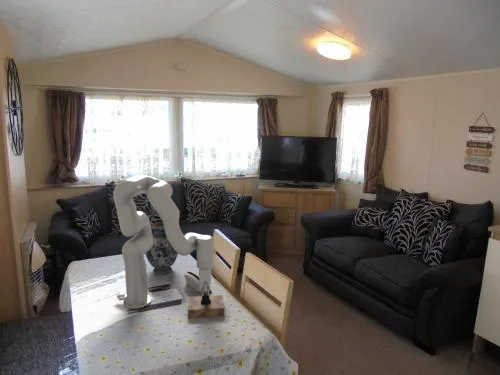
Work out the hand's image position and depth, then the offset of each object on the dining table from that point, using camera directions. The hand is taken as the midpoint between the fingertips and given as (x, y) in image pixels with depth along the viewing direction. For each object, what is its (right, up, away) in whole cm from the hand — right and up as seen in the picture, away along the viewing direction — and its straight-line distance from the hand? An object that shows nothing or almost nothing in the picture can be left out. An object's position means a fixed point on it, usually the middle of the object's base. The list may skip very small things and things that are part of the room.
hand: (205, 298), depth 174 cm
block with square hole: (0, -6, +1) cm, 6 cm away
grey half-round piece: (-7, -2, +22) cm, 24 cm away
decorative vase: (-29, +3, +43) cm, 52 cm away
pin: (0, -6, +1) cm, 6 cm away
